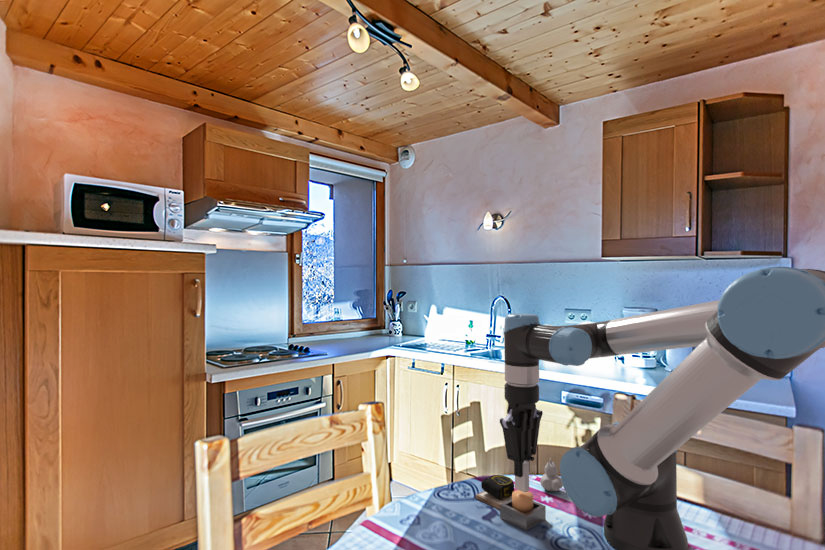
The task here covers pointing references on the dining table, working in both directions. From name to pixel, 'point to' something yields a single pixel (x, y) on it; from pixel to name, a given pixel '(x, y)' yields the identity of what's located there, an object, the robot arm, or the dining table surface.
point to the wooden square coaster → (491, 499)
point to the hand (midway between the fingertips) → (522, 489)
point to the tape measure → (498, 486)
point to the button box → (523, 515)
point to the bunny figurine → (551, 478)
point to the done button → (522, 501)
